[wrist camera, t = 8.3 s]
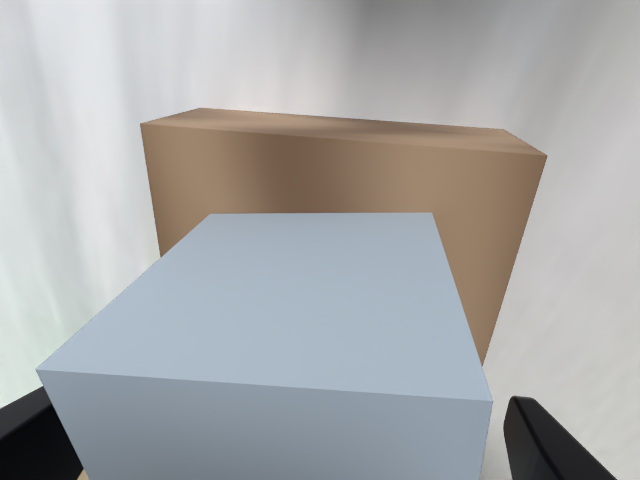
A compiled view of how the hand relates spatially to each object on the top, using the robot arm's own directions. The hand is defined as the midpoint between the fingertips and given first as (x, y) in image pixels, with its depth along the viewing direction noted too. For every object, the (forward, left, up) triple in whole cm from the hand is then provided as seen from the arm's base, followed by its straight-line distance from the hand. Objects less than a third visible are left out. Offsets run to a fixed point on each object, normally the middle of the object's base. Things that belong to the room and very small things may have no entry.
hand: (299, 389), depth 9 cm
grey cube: (0, 0, -3) cm, 3 cm away
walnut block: (0, 0, -7) cm, 7 cm away
